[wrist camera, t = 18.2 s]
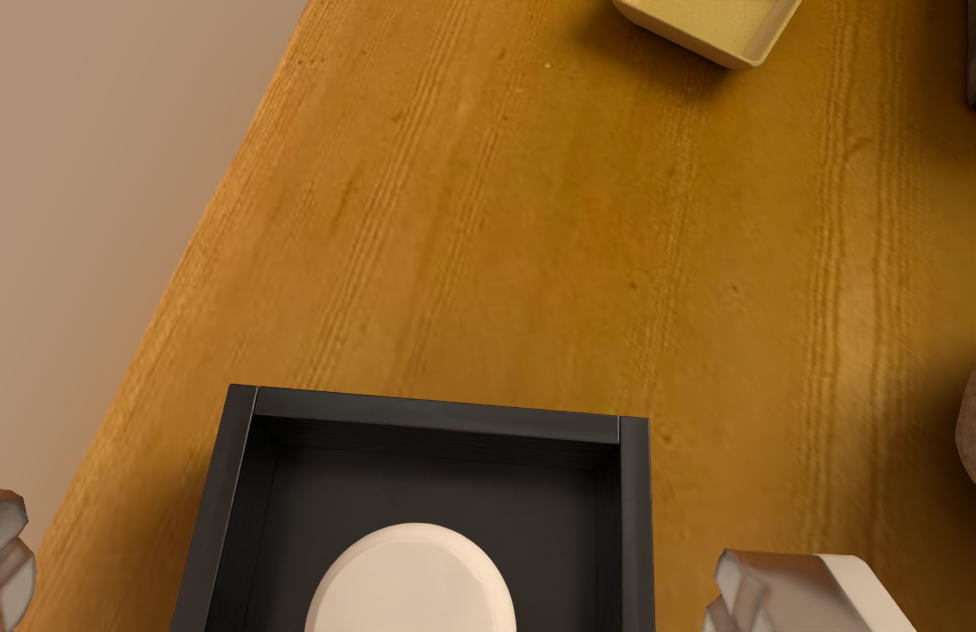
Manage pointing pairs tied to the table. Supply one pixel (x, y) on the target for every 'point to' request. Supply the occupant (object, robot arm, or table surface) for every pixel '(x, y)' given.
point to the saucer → (715, 26)
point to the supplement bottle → (412, 585)
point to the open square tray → (421, 505)
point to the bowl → (968, 427)
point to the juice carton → (971, 54)
